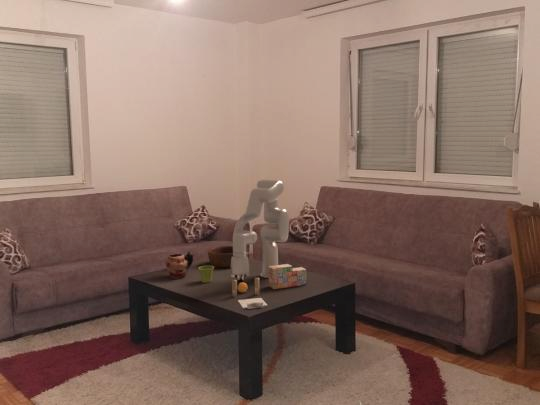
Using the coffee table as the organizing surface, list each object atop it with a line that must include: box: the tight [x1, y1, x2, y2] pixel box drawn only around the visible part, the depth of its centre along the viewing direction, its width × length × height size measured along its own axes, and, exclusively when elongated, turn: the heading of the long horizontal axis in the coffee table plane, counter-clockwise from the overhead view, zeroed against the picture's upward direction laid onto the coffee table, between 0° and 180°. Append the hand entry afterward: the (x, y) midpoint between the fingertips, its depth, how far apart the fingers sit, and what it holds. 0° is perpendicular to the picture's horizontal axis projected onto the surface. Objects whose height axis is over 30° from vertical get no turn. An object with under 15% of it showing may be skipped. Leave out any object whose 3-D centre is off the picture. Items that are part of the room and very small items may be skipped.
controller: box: [183, 251, 194, 269], centre depth 366 cm, size 4×12×10 cm, turn 133°
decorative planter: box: [165, 253, 188, 279], centre depth 344 cm, size 20×12×14 cm, turn 40°
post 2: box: [254, 277, 261, 296], centre depth 304 cm, size 3×3×9 cm
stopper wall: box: [246, 302, 264, 310], centre depth 282 cm, size 8×2×2 cm, turn 106°
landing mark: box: [237, 297, 268, 309], centre depth 290 cm, size 13×13×1 cm
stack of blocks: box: [268, 263, 308, 290], centre depth 321 cm, size 21×6×12 cm, turn 113°
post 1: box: [231, 279, 238, 298], centre depth 301 cm, size 3×3×9 cm
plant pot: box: [198, 265, 215, 284], centre depth 332 cm, size 9×9×9 cm
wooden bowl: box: [207, 245, 233, 269], centre depth 373 cm, size 25×25×10 cm
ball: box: [237, 281, 248, 293], centre depth 309 cm, size 6×6×6 cm
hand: (240, 286), depth 316 cm, fingers closed
